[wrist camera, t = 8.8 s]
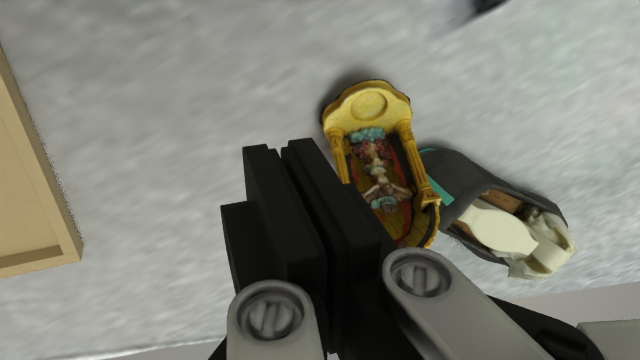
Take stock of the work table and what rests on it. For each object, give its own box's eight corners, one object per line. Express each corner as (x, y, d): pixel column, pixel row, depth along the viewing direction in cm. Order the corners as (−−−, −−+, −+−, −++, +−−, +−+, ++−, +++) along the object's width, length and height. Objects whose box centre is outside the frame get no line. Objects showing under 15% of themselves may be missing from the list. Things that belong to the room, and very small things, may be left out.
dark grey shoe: (518, 261, 61) (576, 315, 53) (364, 208, 45) (413, 274, 37) (565, 205, 58) (635, 253, 50) (418, 128, 42) (484, 179, 34)
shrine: (369, 182, 44) (453, 282, 32) (296, 178, 40) (361, 288, 28) (406, 75, 39) (523, 147, 27) (327, 60, 35) (421, 134, 23)
